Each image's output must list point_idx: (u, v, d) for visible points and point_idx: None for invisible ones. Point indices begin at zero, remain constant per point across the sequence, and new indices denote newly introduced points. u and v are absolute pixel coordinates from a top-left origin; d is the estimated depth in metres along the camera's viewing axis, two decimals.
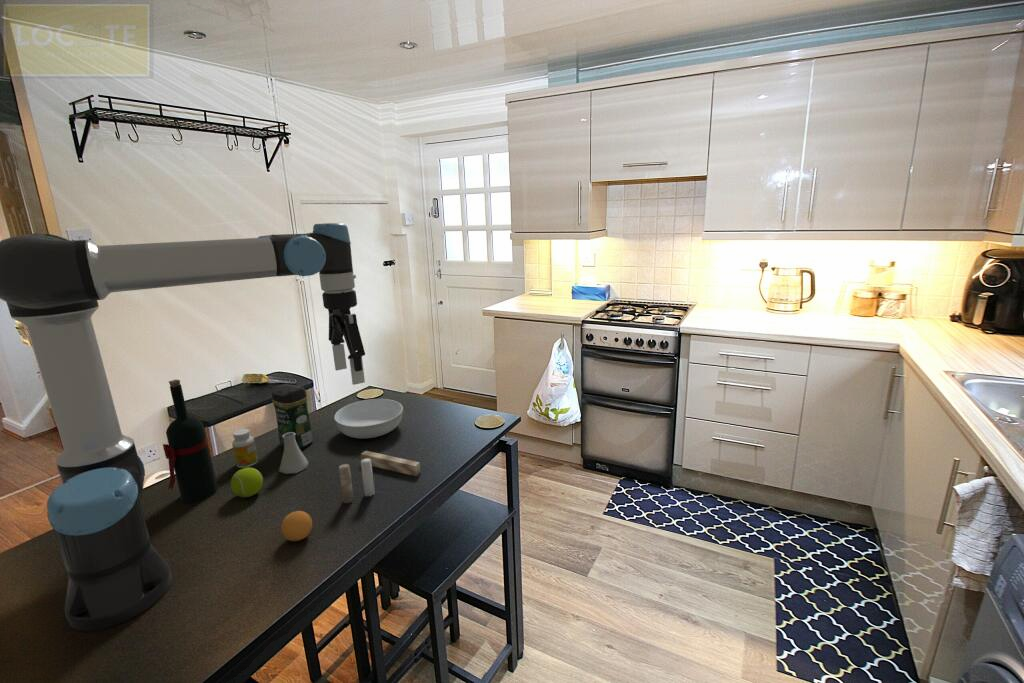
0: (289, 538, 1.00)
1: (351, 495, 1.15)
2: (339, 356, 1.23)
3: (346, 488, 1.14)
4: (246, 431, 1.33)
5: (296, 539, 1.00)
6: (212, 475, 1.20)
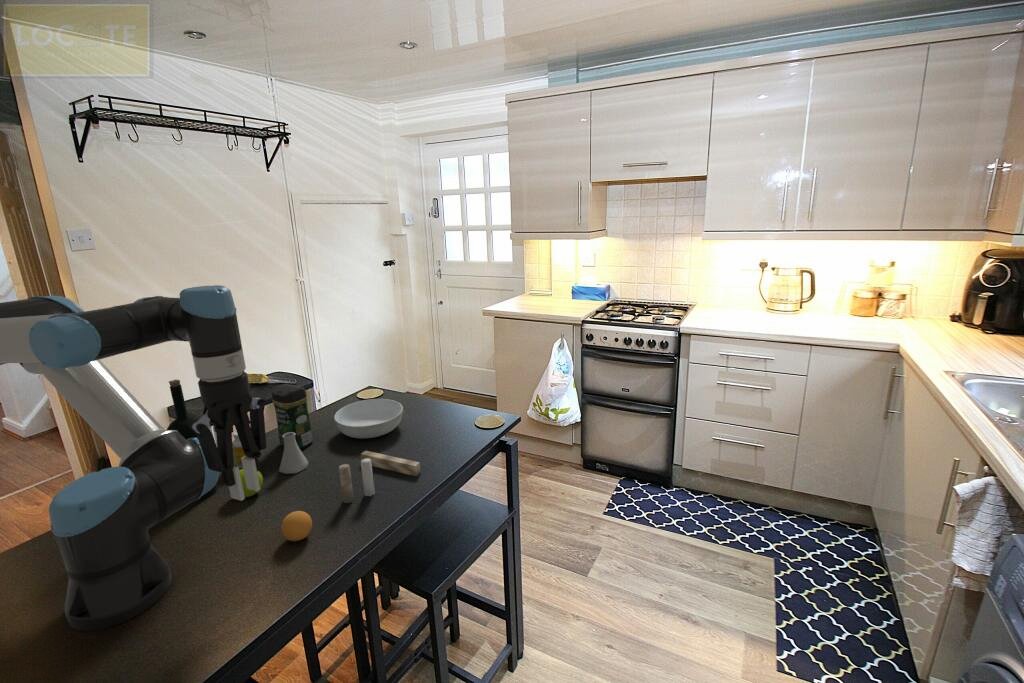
0: (289, 538, 1.00)
1: (351, 495, 1.15)
2: (248, 473, 0.91)
3: (346, 488, 1.14)
4: None
5: (296, 539, 1.00)
6: None
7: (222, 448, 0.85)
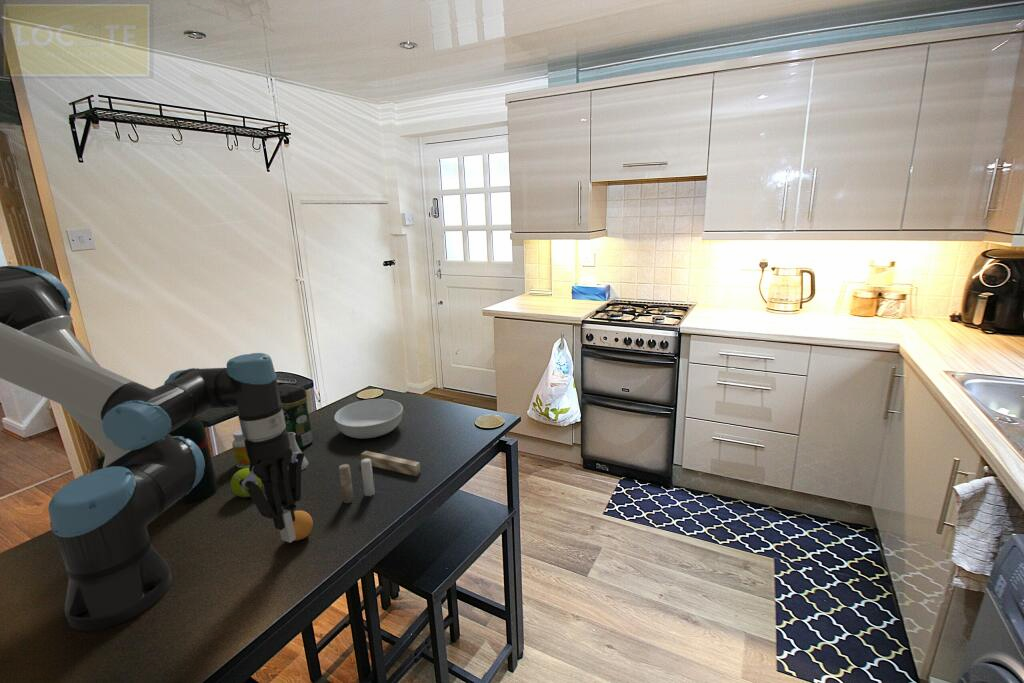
0: None
1: (351, 495, 1.15)
2: None
3: (346, 488, 1.14)
4: None
5: (297, 538, 1.00)
6: (212, 475, 1.20)
7: (270, 497, 0.94)
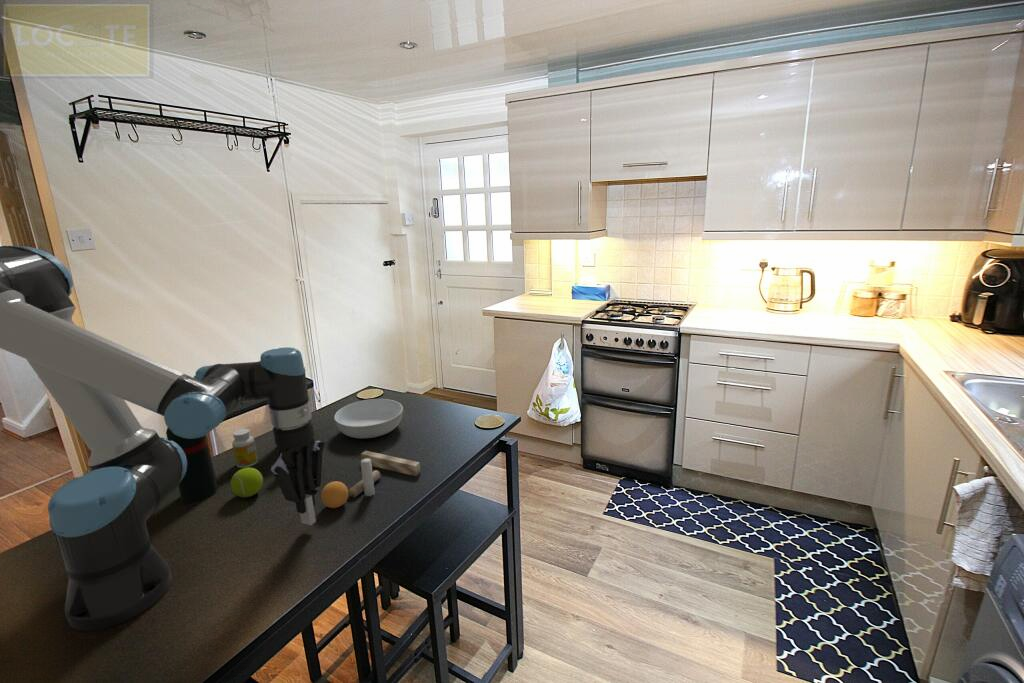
0: None
1: (360, 490, 1.18)
2: None
3: None
4: (246, 431, 1.33)
5: None
6: (212, 475, 1.20)
7: (295, 483, 1.01)
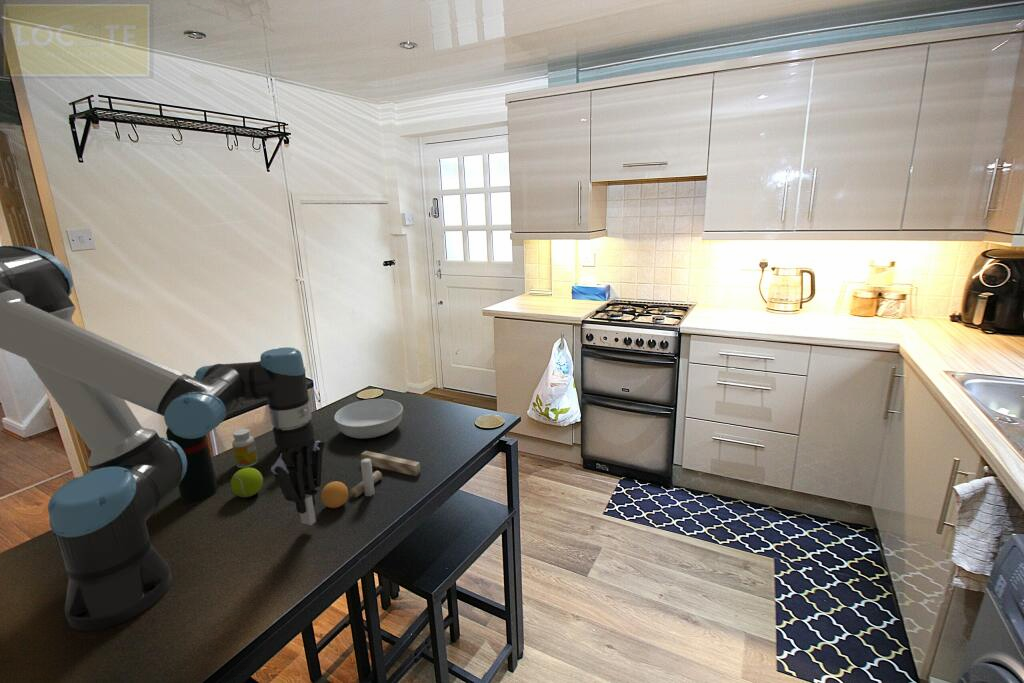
0: None
1: (362, 492, 1.18)
2: None
3: None
4: (246, 431, 1.33)
5: None
6: (212, 475, 1.20)
7: (295, 483, 1.01)
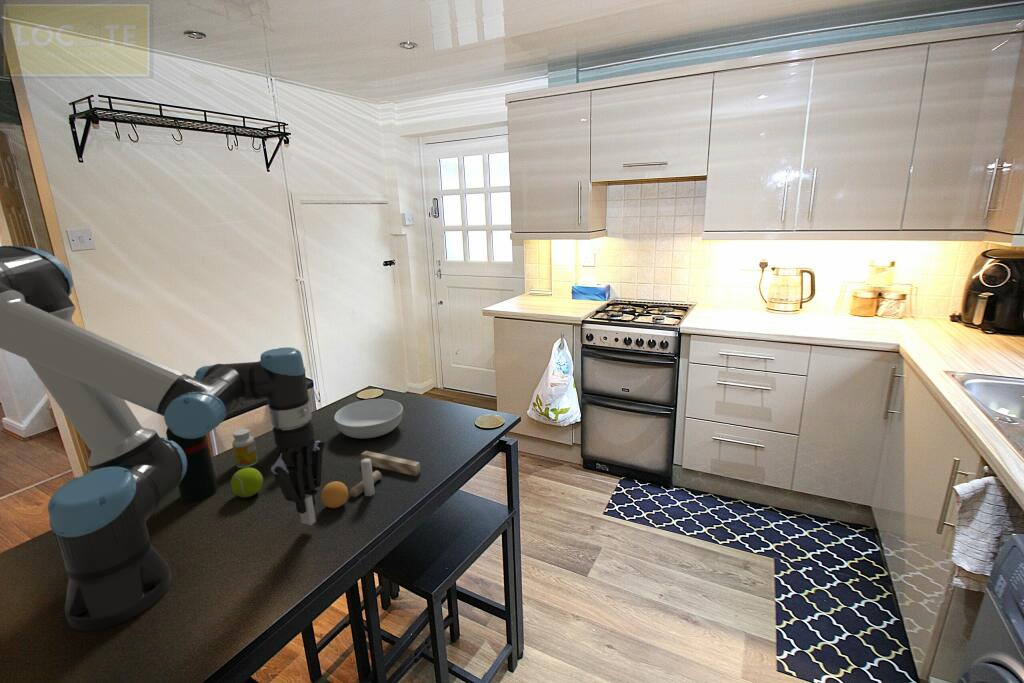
0: None
1: (361, 491, 1.18)
2: None
3: None
4: (246, 431, 1.33)
5: None
6: (212, 475, 1.20)
7: (295, 483, 1.01)
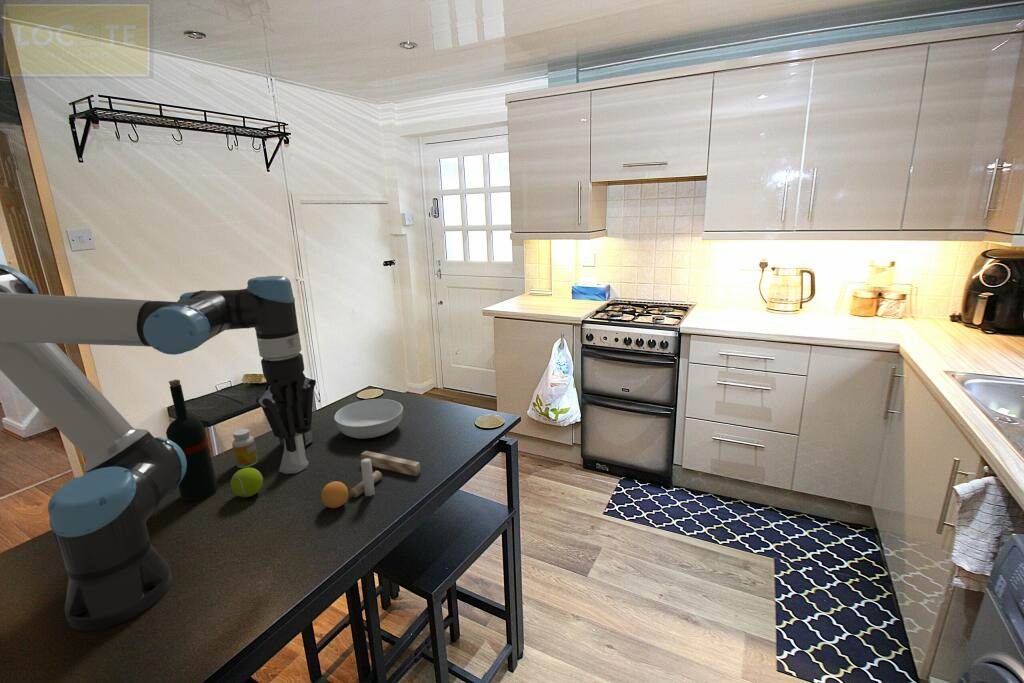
0: None
1: (362, 492, 1.18)
2: None
3: None
4: (246, 431, 1.33)
5: None
6: (212, 475, 1.20)
7: (284, 419, 0.97)
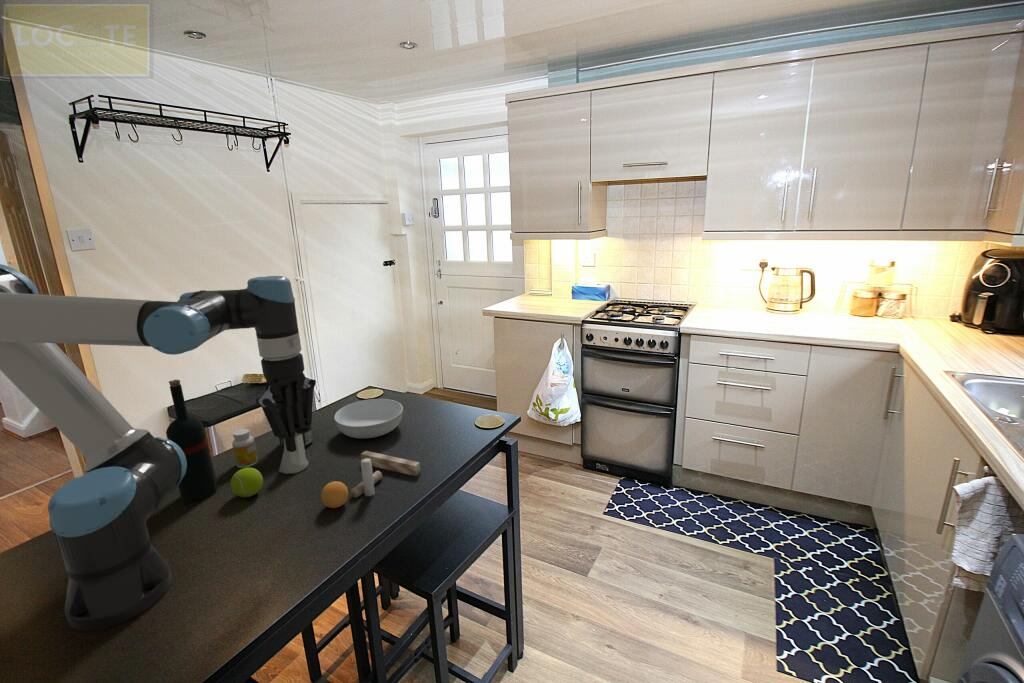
0: None
1: (362, 492, 1.18)
2: None
3: None
4: (246, 431, 1.33)
5: None
6: (212, 475, 1.20)
7: (284, 419, 0.97)
